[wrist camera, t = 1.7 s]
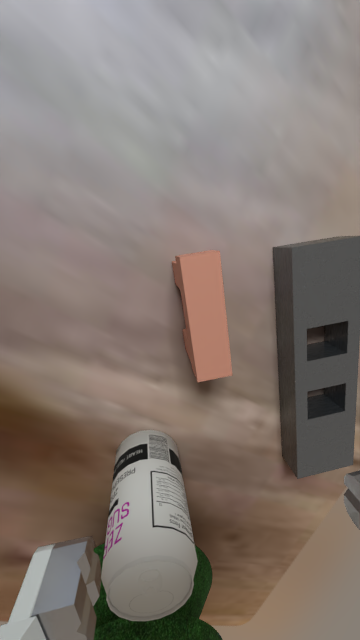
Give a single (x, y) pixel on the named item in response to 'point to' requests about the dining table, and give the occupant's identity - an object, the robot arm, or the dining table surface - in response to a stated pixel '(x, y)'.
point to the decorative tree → (167, 632)
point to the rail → (318, 351)
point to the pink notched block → (204, 313)
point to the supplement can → (148, 531)
